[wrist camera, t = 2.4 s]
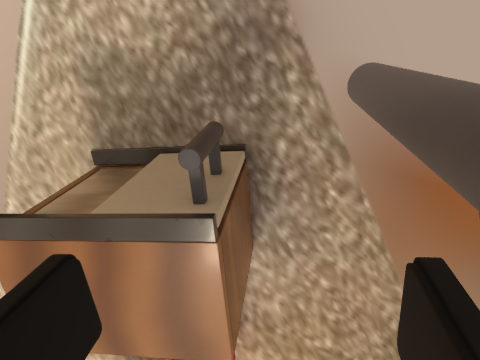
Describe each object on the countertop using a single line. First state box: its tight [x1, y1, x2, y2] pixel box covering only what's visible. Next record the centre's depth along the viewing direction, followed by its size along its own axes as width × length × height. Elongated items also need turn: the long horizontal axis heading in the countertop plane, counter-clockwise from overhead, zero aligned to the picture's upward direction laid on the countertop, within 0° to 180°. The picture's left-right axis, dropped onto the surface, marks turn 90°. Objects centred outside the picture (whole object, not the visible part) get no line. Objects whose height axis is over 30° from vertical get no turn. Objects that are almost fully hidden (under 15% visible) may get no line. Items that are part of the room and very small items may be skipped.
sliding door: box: [90, 121, 245, 228], centre depth 24 cm, size 8×5×13 cm, turn 95°
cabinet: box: [0, 144, 253, 360], centre depth 28 cm, size 16×12×14 cm
